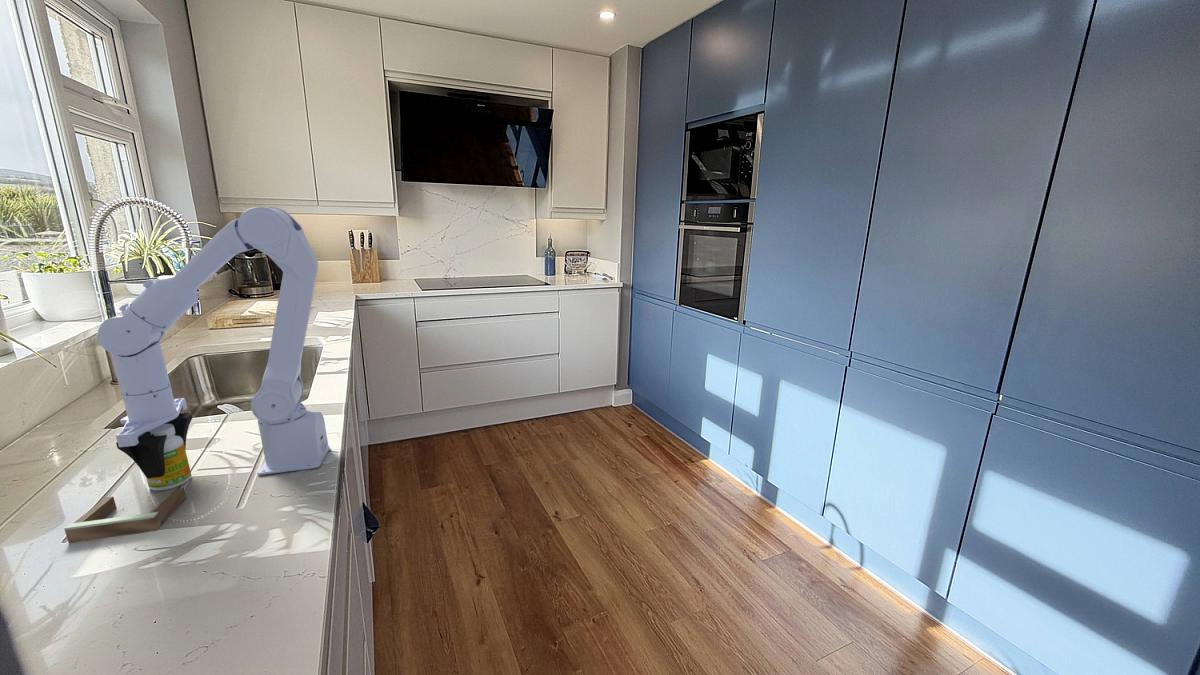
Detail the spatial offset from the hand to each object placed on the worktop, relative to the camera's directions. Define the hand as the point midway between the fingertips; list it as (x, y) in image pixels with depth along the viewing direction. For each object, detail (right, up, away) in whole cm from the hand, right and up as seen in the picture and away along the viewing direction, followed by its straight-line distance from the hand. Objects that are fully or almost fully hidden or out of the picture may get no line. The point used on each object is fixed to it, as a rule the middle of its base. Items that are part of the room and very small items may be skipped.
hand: (166, 467), depth 80 cm
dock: (+3, -5, -8) cm, 10 cm away
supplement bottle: (0, -3, +1) cm, 3 cm away
